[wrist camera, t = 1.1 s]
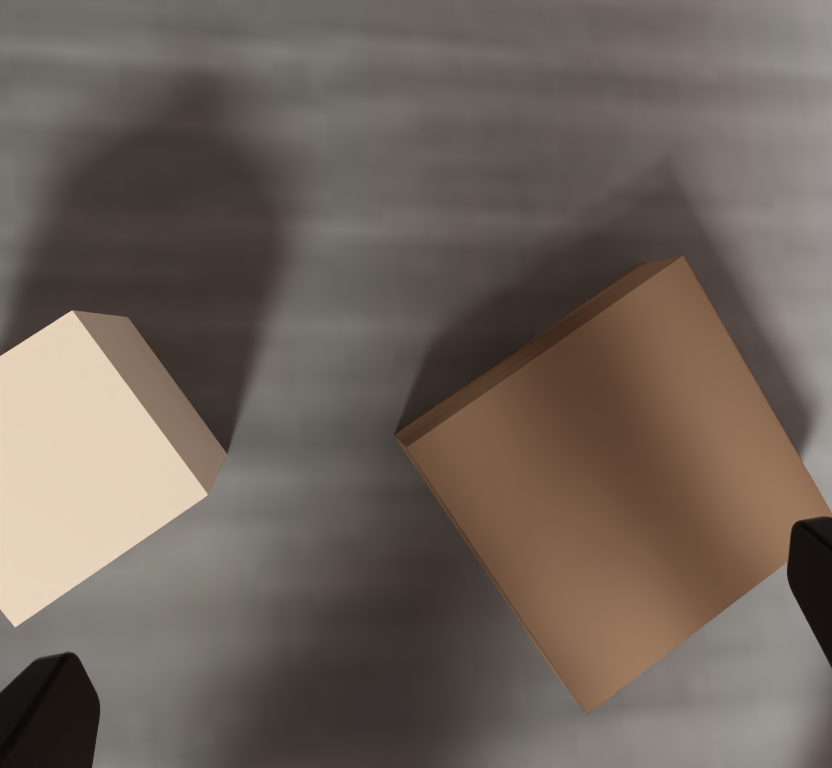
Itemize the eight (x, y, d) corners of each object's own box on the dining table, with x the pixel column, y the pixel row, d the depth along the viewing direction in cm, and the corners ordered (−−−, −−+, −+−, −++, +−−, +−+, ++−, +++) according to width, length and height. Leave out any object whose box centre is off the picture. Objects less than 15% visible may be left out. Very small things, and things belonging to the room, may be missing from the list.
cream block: (85, 550, 22) (14, 627, 16) (-21, 413, 22) (-136, 442, 16) (227, 453, 23) (208, 495, 17) (128, 317, 22) (72, 310, 16)
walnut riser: (552, 670, 26) (587, 714, 23) (391, 433, 24) (406, 447, 21) (776, 502, 27) (837, 523, 24) (636, 264, 25) (683, 255, 22)
